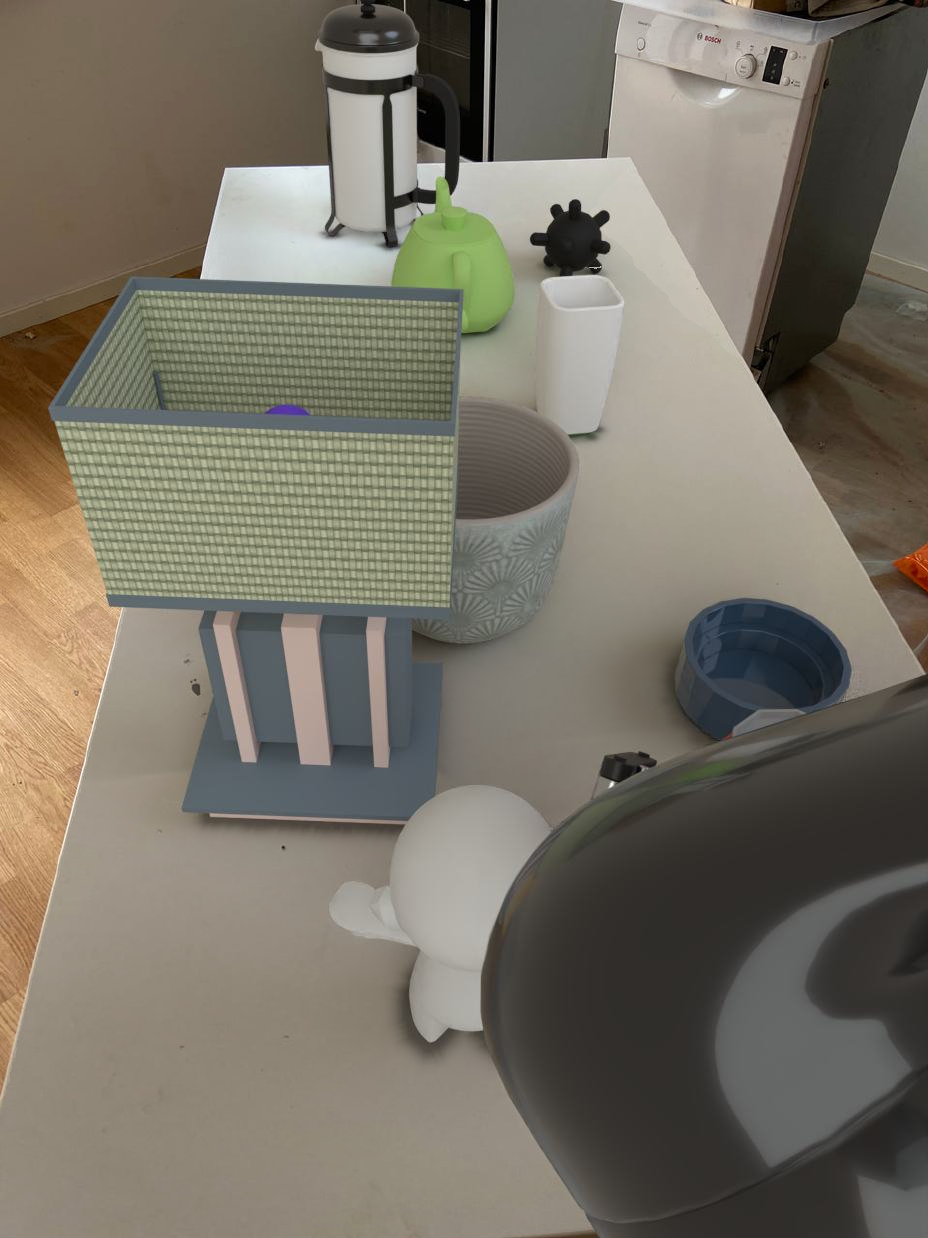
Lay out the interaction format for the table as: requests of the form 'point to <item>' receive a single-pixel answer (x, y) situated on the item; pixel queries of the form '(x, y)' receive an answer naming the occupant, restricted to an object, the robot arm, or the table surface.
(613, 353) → the cup
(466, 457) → the planter
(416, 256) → the teapot
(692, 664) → the bowl
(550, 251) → the toy ball
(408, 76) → the coffee press
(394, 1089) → the table surface
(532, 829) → the figurine
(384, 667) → the desk lamp
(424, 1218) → the table surface
